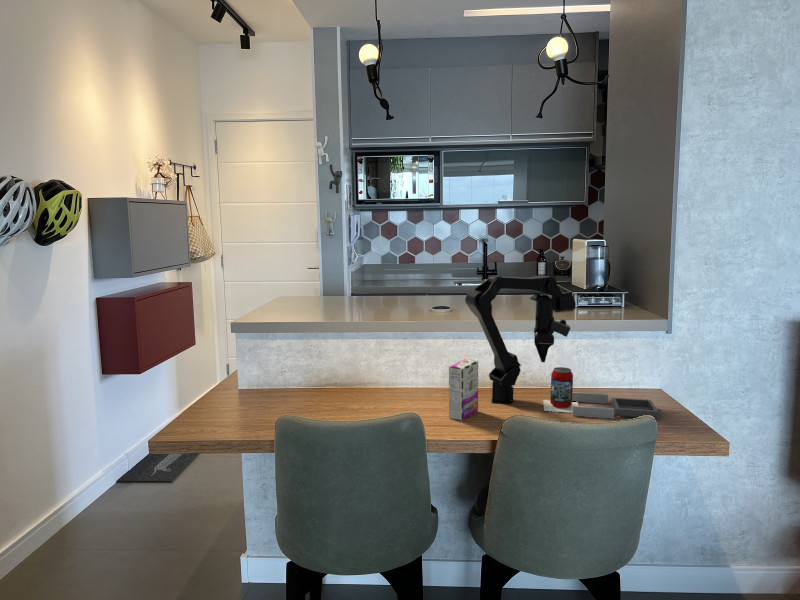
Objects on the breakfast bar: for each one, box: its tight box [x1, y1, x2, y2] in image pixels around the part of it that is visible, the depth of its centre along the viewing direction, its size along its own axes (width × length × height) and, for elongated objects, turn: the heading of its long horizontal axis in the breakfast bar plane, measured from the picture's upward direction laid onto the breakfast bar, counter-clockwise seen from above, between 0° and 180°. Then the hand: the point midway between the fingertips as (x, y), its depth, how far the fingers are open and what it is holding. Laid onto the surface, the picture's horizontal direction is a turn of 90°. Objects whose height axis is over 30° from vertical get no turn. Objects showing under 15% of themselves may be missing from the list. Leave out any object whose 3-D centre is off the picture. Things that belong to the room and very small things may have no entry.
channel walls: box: [572, 391, 615, 420], centre depth 193 cm, size 12×16×3 cm
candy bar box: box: [448, 358, 479, 422], centre depth 187 cm, size 11×5×16 cm, turn 148°
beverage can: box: [549, 366, 574, 408], centre depth 195 cm, size 7×7×12 cm
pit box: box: [610, 397, 659, 420], centre depth 191 cm, size 12×12×2 cm
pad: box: [542, 399, 580, 414], centre depth 195 cm, size 11×11×1 cm
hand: (542, 358), depth 205 cm, fingers open, 9 cm apart
